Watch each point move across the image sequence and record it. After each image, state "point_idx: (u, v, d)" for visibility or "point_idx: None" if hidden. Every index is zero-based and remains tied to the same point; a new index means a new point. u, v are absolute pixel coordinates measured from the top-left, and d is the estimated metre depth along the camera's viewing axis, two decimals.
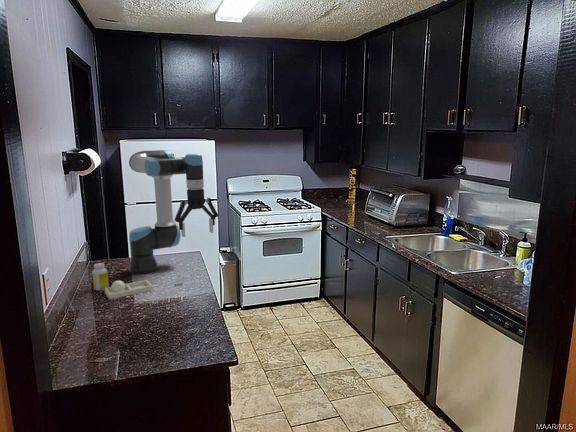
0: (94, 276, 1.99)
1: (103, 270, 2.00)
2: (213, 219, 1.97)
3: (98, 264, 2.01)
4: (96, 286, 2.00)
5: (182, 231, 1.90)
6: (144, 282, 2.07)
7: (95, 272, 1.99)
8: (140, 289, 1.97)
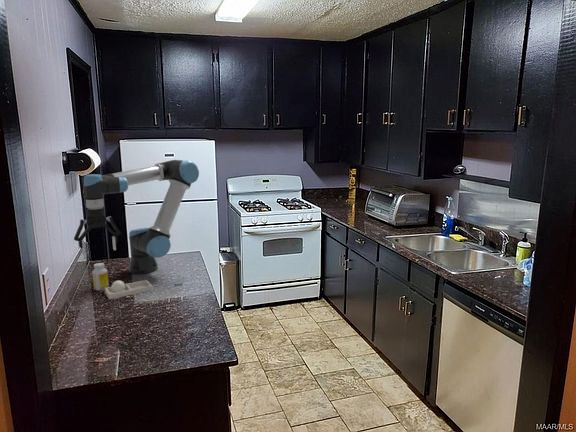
0: (94, 276, 1.99)
1: (103, 270, 2.00)
2: (116, 237, 2.02)
3: (98, 264, 2.01)
4: (96, 286, 2.00)
5: (82, 249, 1.95)
6: (144, 282, 2.07)
7: (95, 272, 1.99)
8: (140, 289, 1.97)
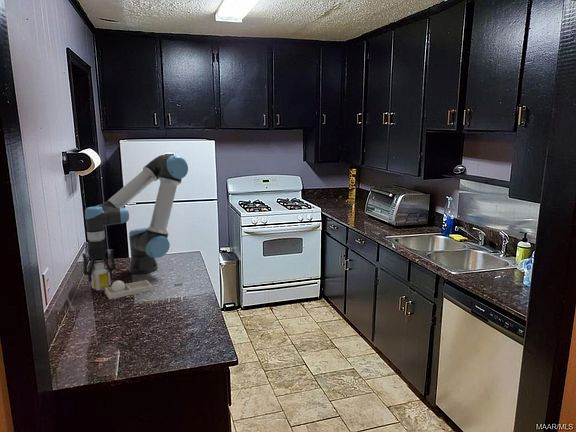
0: (94, 276, 1.99)
1: (103, 270, 2.00)
2: (110, 272, 2.04)
3: (98, 264, 2.01)
4: (96, 286, 2.00)
5: (91, 282, 2.00)
6: (144, 282, 2.07)
7: (95, 272, 1.99)
8: (140, 289, 1.97)
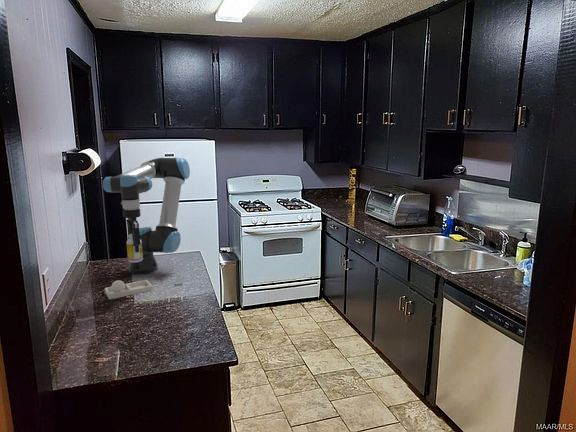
0: None
1: (129, 241, 1.94)
2: (135, 246, 1.93)
3: None
4: None
5: None
6: (144, 282, 2.07)
7: None
8: (140, 289, 1.97)
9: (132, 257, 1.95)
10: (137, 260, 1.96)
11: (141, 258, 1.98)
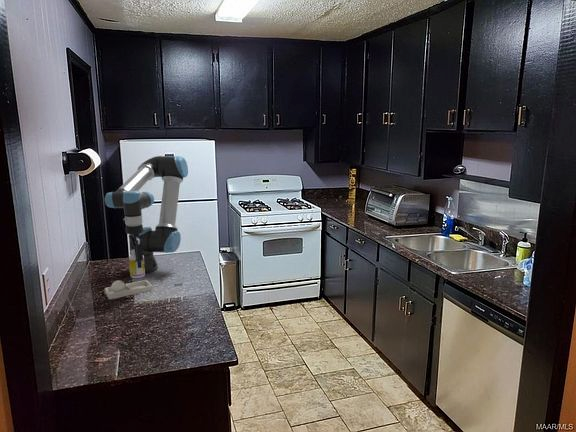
0: None
1: (131, 256, 1.96)
2: (137, 262, 1.94)
3: None
4: None
5: None
6: (144, 282, 2.07)
7: None
8: (140, 289, 1.97)
9: (135, 273, 1.96)
10: (139, 275, 1.97)
11: (143, 273, 1.99)
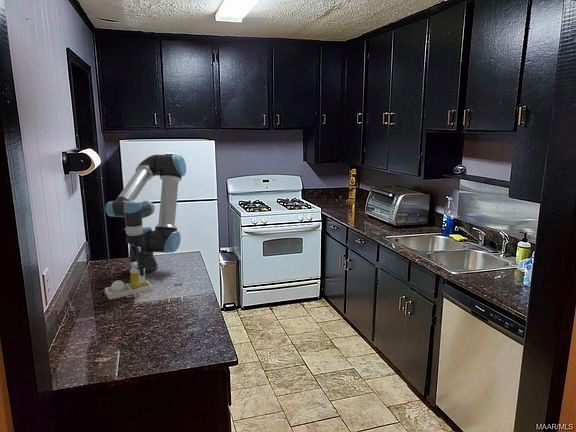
0: None
1: (132, 270, 1.97)
2: (140, 270, 1.93)
3: (136, 262, 1.99)
4: None
5: None
6: None
7: None
8: (140, 289, 1.97)
9: (136, 285, 1.98)
10: None
11: (144, 286, 2.01)
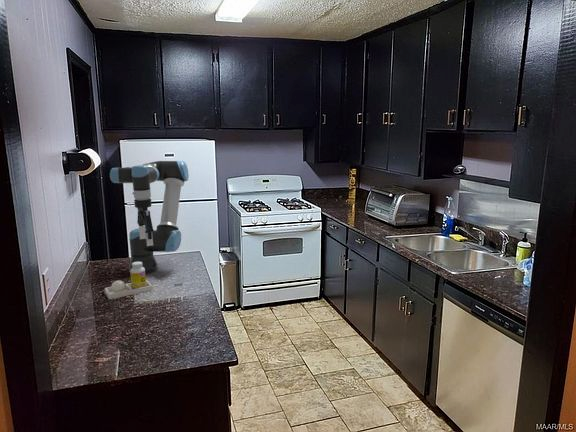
0: None
1: (133, 270, 1.97)
2: (148, 233, 1.94)
3: (136, 262, 1.99)
4: None
5: None
6: None
7: None
8: (140, 289, 1.97)
9: (136, 285, 1.98)
10: None
11: (145, 286, 2.01)
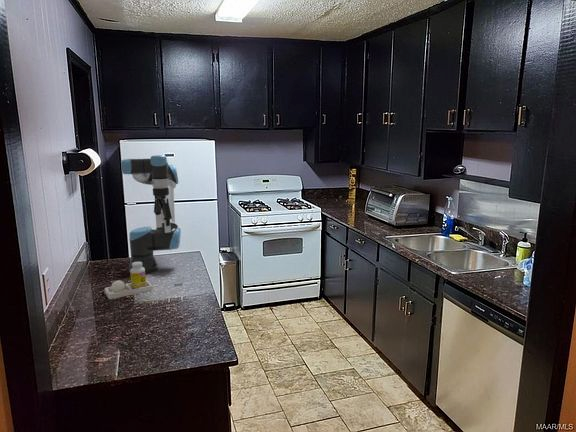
0: None
1: (132, 270, 1.97)
2: (166, 220, 2.02)
3: (136, 262, 1.99)
4: None
5: None
6: None
7: None
8: (140, 289, 1.97)
9: (136, 285, 1.98)
10: None
11: (145, 286, 2.01)
